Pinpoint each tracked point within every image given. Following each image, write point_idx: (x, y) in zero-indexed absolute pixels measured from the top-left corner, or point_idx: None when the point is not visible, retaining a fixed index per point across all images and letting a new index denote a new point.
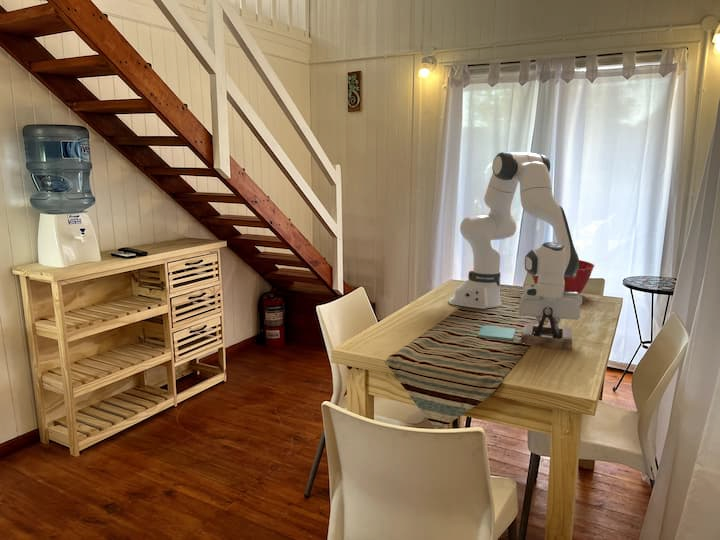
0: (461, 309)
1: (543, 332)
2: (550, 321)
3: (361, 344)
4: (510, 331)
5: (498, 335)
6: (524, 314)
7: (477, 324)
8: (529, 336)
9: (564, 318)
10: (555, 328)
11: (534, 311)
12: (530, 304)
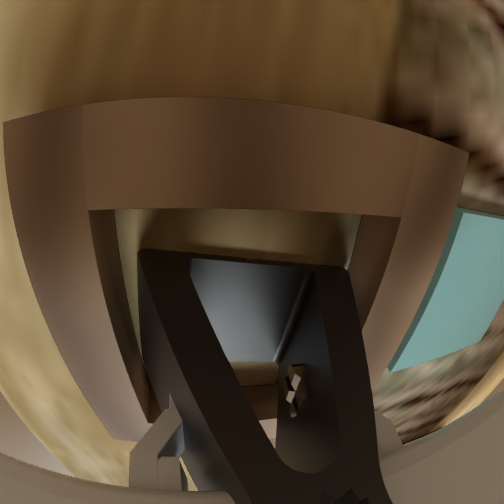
0: (438, 421)
1: (256, 392)
2: (252, 430)
3: None
4: (429, 328)
5: (494, 243)
6: (491, 402)
7: (470, 355)
8: (419, 188)
9: (73, 480)
10: (170, 359)
11: (455, 470)
12: (501, 499)
